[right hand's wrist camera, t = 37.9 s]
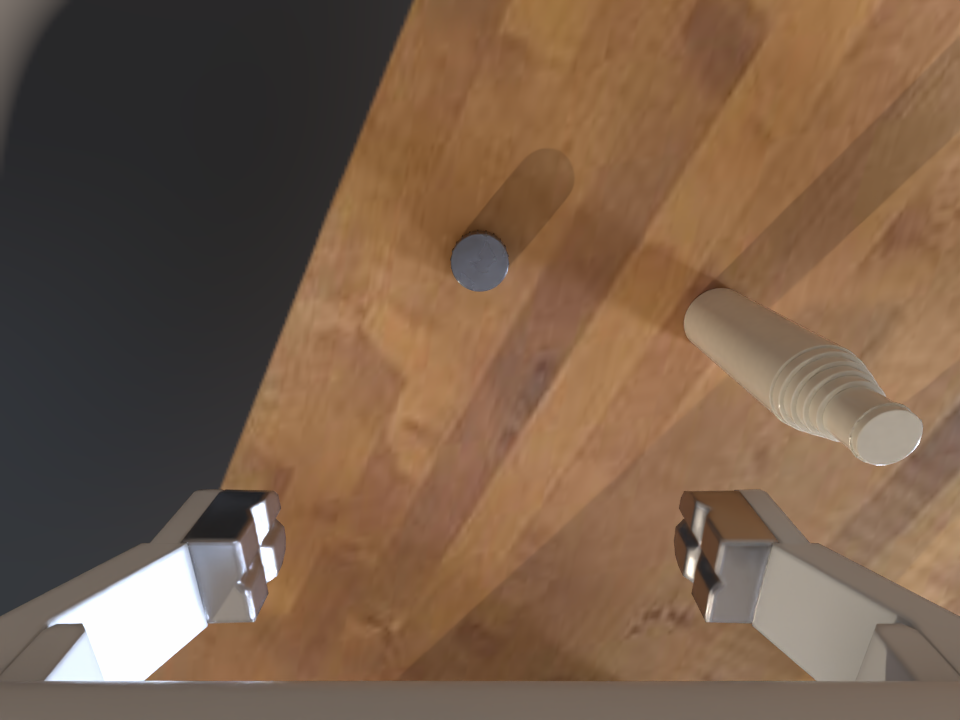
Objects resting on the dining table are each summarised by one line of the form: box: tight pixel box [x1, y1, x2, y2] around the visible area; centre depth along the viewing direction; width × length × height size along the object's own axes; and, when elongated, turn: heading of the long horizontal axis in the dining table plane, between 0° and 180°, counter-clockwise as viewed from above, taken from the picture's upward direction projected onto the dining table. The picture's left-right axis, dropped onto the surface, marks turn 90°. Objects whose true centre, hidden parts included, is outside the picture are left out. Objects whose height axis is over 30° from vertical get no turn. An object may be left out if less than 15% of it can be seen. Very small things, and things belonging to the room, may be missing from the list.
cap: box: [450, 230, 509, 291], centre depth 37 cm, size 4×4×2 cm
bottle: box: [684, 288, 923, 465], centre depth 31 cm, size 5×5×18 cm
